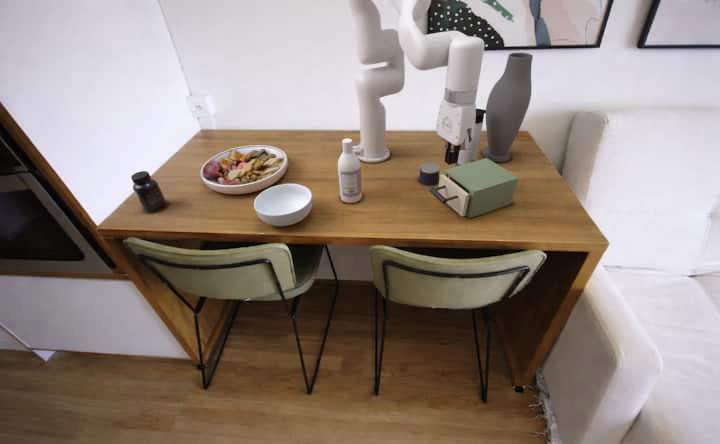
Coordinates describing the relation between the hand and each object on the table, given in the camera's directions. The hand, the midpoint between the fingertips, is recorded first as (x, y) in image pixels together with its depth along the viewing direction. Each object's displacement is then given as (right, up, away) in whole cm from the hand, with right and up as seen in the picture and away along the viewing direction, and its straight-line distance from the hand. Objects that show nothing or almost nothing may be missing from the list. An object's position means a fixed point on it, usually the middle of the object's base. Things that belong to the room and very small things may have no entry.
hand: (451, 162), depth 94 cm
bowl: (-66, 0, +31) cm, 73 cm away
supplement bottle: (-92, -12, +18) cm, 94 cm away
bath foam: (-28, -9, +17) cm, 34 cm away
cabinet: (+11, -9, +13) cm, 20 cm away
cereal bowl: (-47, -15, +10) cm, 51 cm away
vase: (+27, +9, +35) cm, 45 cm away
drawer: (+6, -10, +11) cm, 16 cm away
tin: (-1, -2, +23) cm, 23 cm away
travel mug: (+14, +5, +31) cm, 34 cm away
